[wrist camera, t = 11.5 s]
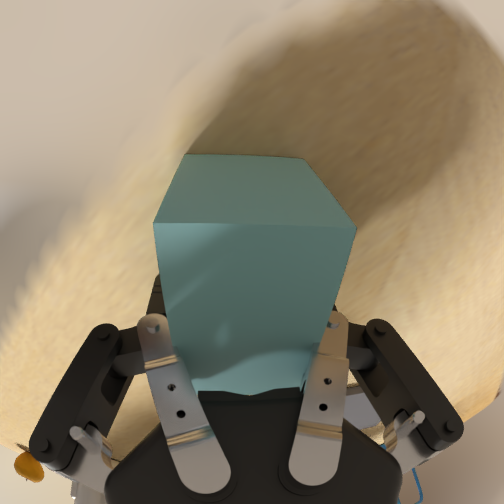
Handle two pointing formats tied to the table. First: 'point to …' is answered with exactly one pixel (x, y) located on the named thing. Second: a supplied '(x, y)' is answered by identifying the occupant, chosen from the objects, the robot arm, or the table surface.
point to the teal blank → (249, 268)
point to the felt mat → (359, 409)
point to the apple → (29, 467)
